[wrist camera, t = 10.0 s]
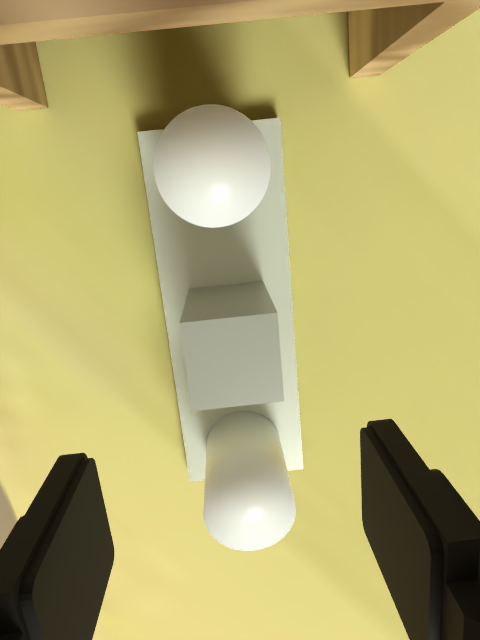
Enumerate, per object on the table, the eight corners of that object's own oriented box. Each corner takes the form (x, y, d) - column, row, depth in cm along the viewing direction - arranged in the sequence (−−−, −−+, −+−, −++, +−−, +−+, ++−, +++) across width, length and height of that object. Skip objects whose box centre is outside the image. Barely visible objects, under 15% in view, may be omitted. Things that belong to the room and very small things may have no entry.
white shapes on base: (277, 120, 23) (303, 93, 16) (299, 457, 29) (326, 547, 22) (141, 134, 23) (106, 112, 16) (191, 469, 29) (181, 563, 22)
